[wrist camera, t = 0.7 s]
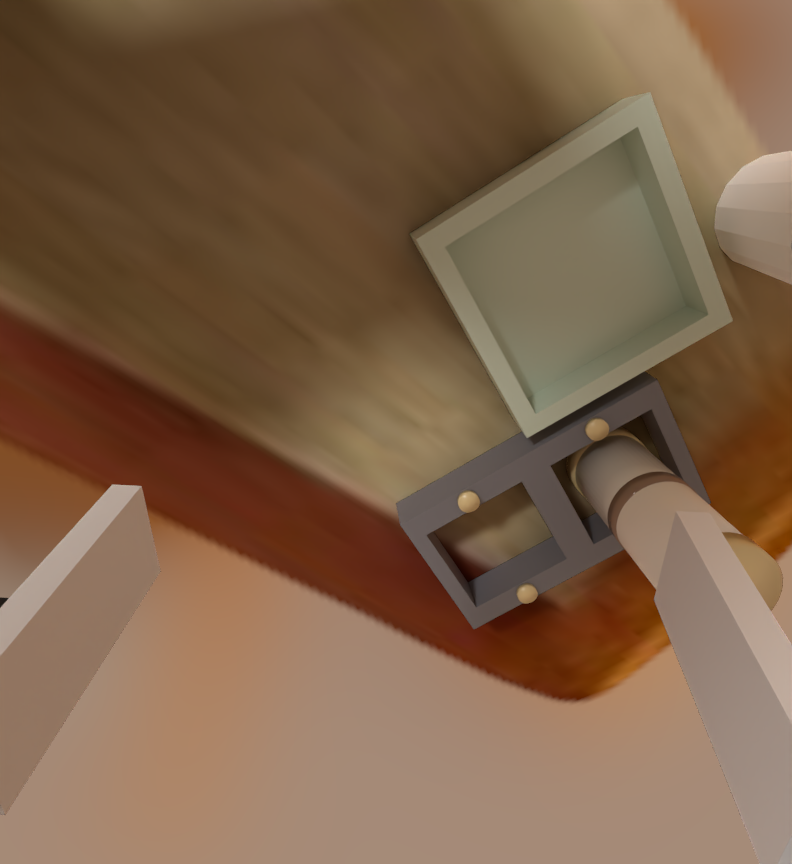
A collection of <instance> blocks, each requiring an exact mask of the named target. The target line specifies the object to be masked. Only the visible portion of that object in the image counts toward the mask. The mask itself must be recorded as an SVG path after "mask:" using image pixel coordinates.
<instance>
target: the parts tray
mask: <svg viewBox="0 0 792 864" xmlns="http://www.w3.org/2000/svg"><path fill="white" fill-rule="evenodd" d="M409 234H410V236H411V238H412V240H413V242H414V243H415V245H416V247H417V249H418V250H419V252H420V254H421V256H422V258H423V259H424V261H425V263H426V265H427V267H428V268H429V270H430V272H431V274H432V275H433V277H434V279H435V281H436V283H437V284H438V286H439V288H440V290H441V291H442V293H443V295H444V297H445V299H446V300H447V302H448V304H449V306H450V308H451V309H452V311H453V313H454V315H455V316H456V318H457V320H458V322H459V324H460V325H461V327H462V329H463V331H464V332H465V334H466V336H467V338H468V340H469V341H470V343H471V345H472V347H473V349H474V350H475V352H476V354H477V356H478V357H479V359H480V361H481V363H482V365H483V366H484V368H485V370H486V372H487V373H488V375H489V377H490V379H491V381H492V382H493V384H494V386H495V388H496V390H497V391H498V393H499V395H500V397H501V398H502V400H503V402H504V404H505V406H506V407H507V409H508V411H509V413H510V414H511V416H512V418H513V420H514V421H515V422H516V424H517V425H518V427H519V428H520V429H521V431H522V432H523V433H524V435H525V436H526V438H528V437H530V436H532V435H534V434H535V433H537V432H539V431H541V430H542V429H544V428H546V427H548V426H549V425H551V424H553V423H555V422H556V421H558V420H560V419H562V418H563V417H565V416H567V415H569V414H570V413H572V412H574V411H576V410H577V409H579V408H581V407H583V406H584V405H586V404H588V403H590V402H591V401H593V400H595V399H597V398H599V397H600V396H602V395H604V394H606V393H607V392H609V391H611V390H613V389H614V388H616V387H618V386H620V385H621V384H623V383H625V382H627V381H628V380H630V379H632V378H634V377H635V376H637V375H639V374H641V373H642V372H644V371H646V370H648V369H649V368H651V367H653V366H655V365H657V364H658V363H660V362H662V361H664V360H665V359H667V358H669V357H671V356H672V355H674V354H676V353H678V352H679V351H681V350H683V349H685V348H686V347H688V346H690V345H692V344H693V343H695V342H697V341H699V340H700V339H702V338H704V337H706V336H707V335H709V334H711V333H713V332H714V331H716V330H718V329H720V328H722V327H723V326H725V325H727V324H729V323H730V322H732V321H733V320H732V317H731V314H730V311H729V308H728V306H727V303H726V300H725V297H724V295H723V292H722V289H721V286H720V284H719V281H718V278H717V275H716V273H715V270H714V267H713V264H712V262H711V259H710V256H709V253H708V251H707V248H706V245H705V242H704V239H703V237H702V234H701V231H700V228H699V226H698V223H697V220H696V217H695V215H694V212H693V209H692V206H691V204H690V201H689V198H688V195H687V193H686V190H685V187H684V184H683V181H682V179H681V176H680V173H679V170H678V168H677V165H676V162H675V159H674V157H673V154H672V151H671V148H670V146H669V143H668V140H667V137H666V135H665V132H664V129H663V126H662V124H661V121H660V118H659V115H658V112H657V110H656V107H655V104H654V101H653V99H652V96H651V93H650V92H648V93H644V94H640V95H636V96H632V97H627V98H623V99H621V100H620V101H618V102H617V103H615V104H614V105H612V106H610V107H609V108H607V109H606V110H604V111H602V112H601V113H599V114H598V115H596V116H595V117H593V118H591V119H590V120H588V121H587V122H585V123H583V124H582V125H580V126H579V127H577V128H576V129H574V130H572V131H571V132H569V133H568V134H566V135H564V136H563V137H561V138H560V139H558V140H557V141H555V142H553V143H552V144H550V145H549V146H547V147H545V148H544V149H542V150H541V151H539V152H538V153H536V154H534V155H533V156H531V157H530V158H528V159H526V160H525V161H523V162H522V163H520V164H519V165H517V166H515V167H514V168H512V169H511V170H509V171H508V172H506V173H504V174H503V175H501V176H500V177H498V178H496V179H495V180H493V181H492V182H490V183H489V184H487V185H485V186H484V187H482V188H481V189H479V190H477V191H476V192H474V193H473V194H471V195H470V196H468V197H466V198H465V199H463V200H462V201H460V202H458V203H457V204H455V205H454V206H452V207H451V208H449V209H447V210H446V211H444V212H443V213H441V214H439V215H438V216H436V217H435V218H433V219H432V220H430V221H428V222H427V223H425V224H424V225H422V226H420V227H419V228H417V229H416V230H414V231H413V232H411V233H409Z"/></svg>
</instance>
